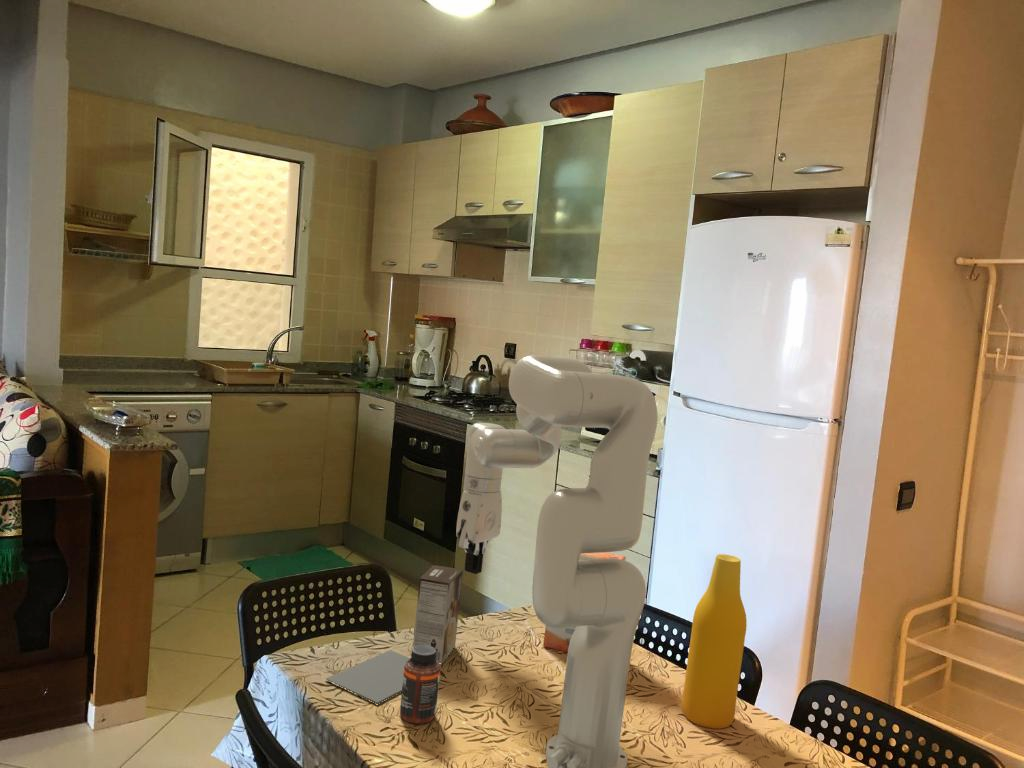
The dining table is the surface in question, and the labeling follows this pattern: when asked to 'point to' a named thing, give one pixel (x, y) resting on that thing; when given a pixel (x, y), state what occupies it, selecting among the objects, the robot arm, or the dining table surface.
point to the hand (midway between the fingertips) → (472, 571)
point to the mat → (374, 677)
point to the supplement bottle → (420, 685)
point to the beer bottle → (716, 648)
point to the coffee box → (438, 610)
